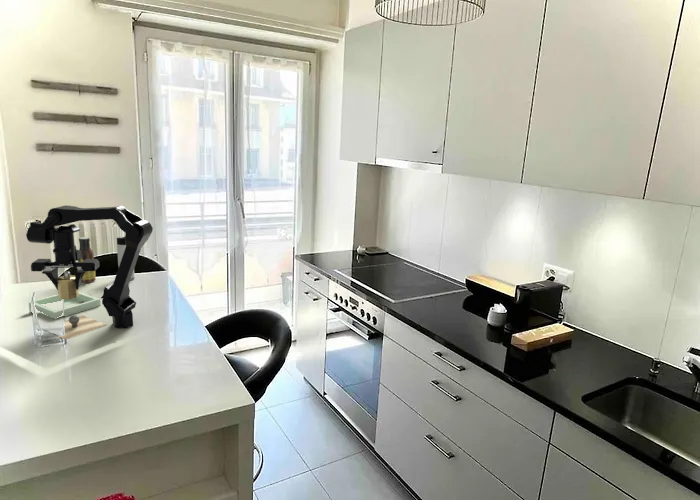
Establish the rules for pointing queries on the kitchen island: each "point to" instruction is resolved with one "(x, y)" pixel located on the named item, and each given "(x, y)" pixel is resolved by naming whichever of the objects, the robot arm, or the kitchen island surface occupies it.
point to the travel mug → (122, 252)
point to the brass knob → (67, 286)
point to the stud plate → (80, 326)
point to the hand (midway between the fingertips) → (68, 289)
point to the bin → (88, 304)
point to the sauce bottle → (86, 254)
